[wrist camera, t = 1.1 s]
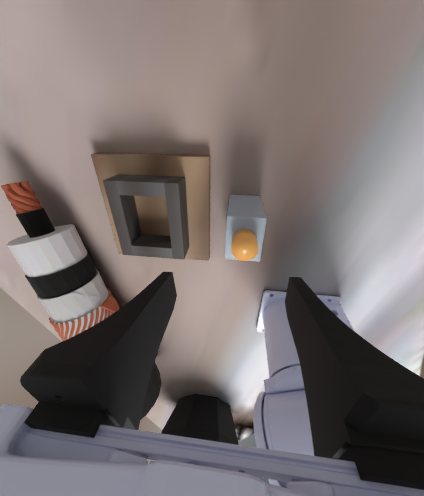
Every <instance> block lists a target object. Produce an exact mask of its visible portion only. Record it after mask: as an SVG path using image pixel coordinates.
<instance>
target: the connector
mask: <svg viewBox="0 0 424 496" xmlns="http://www.w3.org/2000/svg"><path fill="white" fill-rule="evenodd" d="M266 221H267V217H266V213H265V210H264V206H263V203H262V199H261V196H250V195H230V199H229V206H228V213H227V226H226V245H225V259H233V260H241V261H259V262H260V257H261V251H262V245H263V239H264V233H265V227H266Z"/></svg>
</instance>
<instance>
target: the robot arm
mask: <svg viewBox="0 0 424 496" xmlns="http://www.w3.org/2000/svg"><path fill="white" fill-rule="evenodd" d="M270 294H272V295H270ZM176 297H177V294H176V289H175V283H174V278H173V273H172V272H162V273H161V274H160V275H159V276H158V277H157V278H156V279H155V280H154V281H153V282H152V283H151V284H149V285H148V286H147V287H146V288H145V289H144V290H143V291H142V292H141V293H139V294H138V295H137V296H136V297H134V298H133V299H132V300H131V301H130V302H128V303H127V304H126V305H125V306H123V307H122V308H120V309H119V310H118V311H116V312H115V313H113V314H112V315H110V316H109V317H107V318H105V319H104V320H102V321H101V322H99V323H97V324H96V325H94V326H92V327H90V328H89V329H87V330H85V331H83V332H81V333H79V334H77V335H75V336H73V337H71V338H69V339H67V340H65V341H63V342H61V343H59V344H56V345H54V346H52V347H50V348H47V349H45V350H44V351H43V352H42V353H41V354H40V356H39V357H38V358H37V359H36V360H35V361H34V363H33V364H32V365H31V366H30V367H29V368H28V369H27V371H26V372H25V373H24V374H23V375H22V376H21V379H20V382H21V385H22V386H23V387H24V388H25V389H26V390H27V391H28V392H29V393H30V394H31V395H32V396H33V397H35V399H37V400H38V401H39V403H38V404H37V405H36V407H35V408H34V409H32V408H29V407H25V406H19V405H12V404H4V405H2V407H1V408H0V496H424V379H423V378H422V377H420V376H418V375H417V374H415V373H413V372H412V371H410V370H408V369H407V368H405V367H404V366H402V365H400V364H399V363H397V362H396V361H394V360H393V359H391V358H390V357H388V356H387V355H385V354H384V353H382V352H381V351H380V350H378V349H377V348H375V347H374V346H373V345H371V344H370V343H369V342H367V341H366V340H365V339H363V338H362V337H361V336H359V335H358V334H357V333H356V332H355V331H354V329H353V328H352V326H351V324H350V322H349V320H348V318H347V317H346V315H345V313H344V311H343V309H342V308H341V306H340V305H341V303H342V299H341V298H340V297H336V296H325V295H316V294H315V293H314V292H313V291H312V290H311V289H310V288H309V287H308V285H307V284H306V283H305V282H304V281H303V280H302V279H301V278H299V277H290V278H289V283H288V288H287V292H280V291H269V290H266V291H264V293H263V297H262V302H261V307H260V312H259V317H258V322H257V327H256V328H257V331H258V332H264V333H265V342H266V351H267V360H268V368H269V377H270V378H269V379H266V380H264V385H265V392H261V393H259V395H258V397H257V400H256V403H255V406H254V414H253V423H254V434H255V440H256V445H257V448H256V447H249V446H243V445H236V444H229V443H222V442H216V441H209V440H202V439H195V438H188V437H182V436H175V435H168V434H161V433H154V432H147V431H141V430H138V428H139V423H140V419H141V414H142V410H143V405H144V401H145V397H146V392H147V388H148V384H149V380H150V377H151V373H152V369H153V365H154V362H155V358H156V355H157V351H158V348H159V345H160V342H161V340H162V337H163V335H164V332H165V330H166V327H167V325H168V322H169V320H170V317H171V314H172V312H173V309H174V305H175V301H176ZM329 299H330V300H329ZM144 458H145V459H144ZM146 459H151V460H155V461H151V462H150V463H149V464H148V463H147V460H146ZM257 477H260V478H266V479H268V480H269V483H270V484H268V483H265V482H263V481H262V480H261V479H259V478H257Z"/></svg>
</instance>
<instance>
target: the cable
mask: <svg viewBox="0 0 424 496" xmlns="http://www.w3.org/2000/svg"><path fill="white" fill-rule="evenodd" d="M1 187H2V189H3V190H4V191H5V194H6V196H7V198H8V200H9V201H10V202H11V205H12V207H13V208H14V210H16V213H17V214H16V216H17V217H18V219H19V221H20V222H21V224H22V226H23V227H24V229H25V231H26V232H27V235H25V236H22V237H19V238H17V239H14V240H12V241H10V242H9V243H8V244H7V246H8V248H9V249H10V251H11V252H12V254H13V256H14V257H15V259H16V260H17V262H18V263H19V265H20V266H21V268H22V269H23V271H24V272H25V274H26V275H25V277H26V278H27V280H28V281H29V283H30V284H31V286H32V287H33V289H34V290H35V292H36V293H37V297H38V299H39V301H40V302H41V304H42V305H43V307H44V308H45V310H46V311H47V313H48V314H49V316H50V318H49V320H50V323H51V324H52V325H53V327H54V328H55V330H56V331H57V332H58V334H59V336H60V337H61V338H62V340H63V341H65V340H67V339H69V338H71V337H73V336H75V335H77V334H79V333H81V332H83V331H85V330H87V329H89V328H90V327H92V326H94V325H96V324H97V323H99V322H101V321H102V320H104V319H105V318H107V317H109V316H110V315H112V314H113V313H115V312H116V311H118V310H119V305H118V303H117V301H116V300H115V299H114V298H113V296H112V293H111V291H110V289H108V288H106V287H105V284H104V282H103V280H102V278H101V276H100V274H99V271H98V270H97V269H96V268H95V266H94V264H93V262H92V260H91V258H90V255H89V253H88V251H86V249H85V247H84V245H83V243H82V240H81V238H80V236H79V234H78V232H77V230H76V228H75V226H74V225H73V224H69V225H62V226H55V227H53V225H52V223H51V221H50V219H49V217H48V216H47V214H46V212H45V210H44V208H42V206H41V205H40V202H39V200H38V199H37V198H36V195H35V192H34V191H33V190H32V188H31V187H30V185H29V183H28V182H27V181H25V182H19V183H12V184H7V185H2V186H1ZM160 388H161V378H160V373H159V370H158V368H157V366H156V364H155V362H154V365H153V369H152V373H151V377H150V380H149V384H148V388H147V392H146V397H145V401H144V405H143V410H142V414H141V419H142V418H143V417H144V416H146V415H147V413H148V412H149V411H150V409H151V408H152V407H153V405H154V404H155V402H156V400H157V398H158V396H159V392H160ZM141 419H140V420H141Z"/></svg>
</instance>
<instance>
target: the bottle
mask: <svg viewBox="0 0 424 496" xmlns="http://www.w3.org/2000/svg"><path fill="white" fill-rule="evenodd" d="M161 434H168V435H175V436H182V437H188V438H195V439H202V440H209V441H216V442H222V443H229V444H236V445H238V440H237V436H236V431H235V427H234V422H233V417H232V413H231V408H230V406H229V405H228V404H226V403H224V402H223V401H221V400H219V399H218V398H214V397H209V396H203V395H197V394H194V395H191V396H188V397H185V398H182V399H180V400H179V402H178V403H177V405H176V407H175V409H174V411H173V412H172V414H171V416H170V418H169V420H168V421H167V423H166V425H165V427H164V429H163V430H162V433H161Z"/></svg>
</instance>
